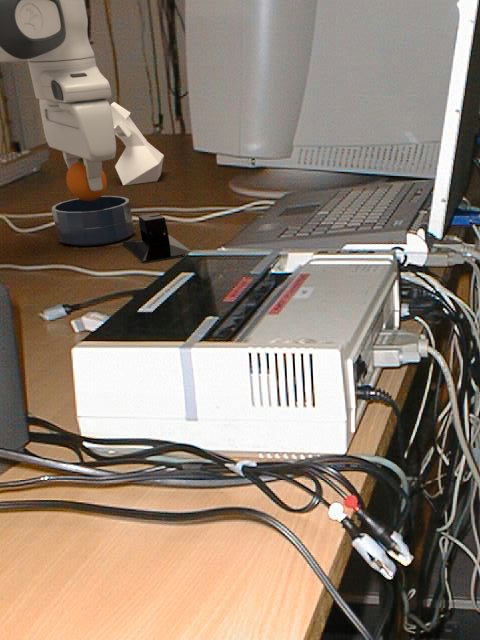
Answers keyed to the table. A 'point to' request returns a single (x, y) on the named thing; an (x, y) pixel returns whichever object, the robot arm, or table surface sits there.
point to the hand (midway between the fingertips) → (87, 186)
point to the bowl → (93, 221)
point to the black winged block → (155, 241)
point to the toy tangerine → (83, 182)
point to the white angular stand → (134, 151)
